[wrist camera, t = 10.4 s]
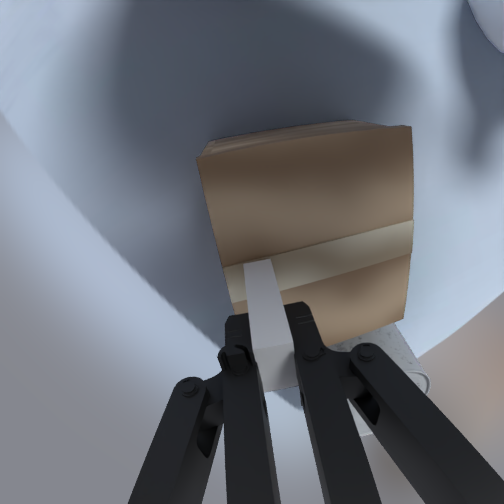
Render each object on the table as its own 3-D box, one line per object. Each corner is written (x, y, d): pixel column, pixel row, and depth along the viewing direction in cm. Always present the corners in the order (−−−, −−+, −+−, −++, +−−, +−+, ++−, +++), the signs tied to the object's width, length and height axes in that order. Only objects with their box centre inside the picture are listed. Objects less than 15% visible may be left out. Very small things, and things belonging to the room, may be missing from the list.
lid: (196, 157, 15) (196, 159, 14) (403, 125, 16) (412, 126, 15) (248, 360, 21) (250, 369, 21) (398, 313, 22) (403, 319, 22)
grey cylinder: (313, 361, 35) (338, 447, 24) (289, 306, 31) (317, 404, 20) (385, 332, 34) (428, 409, 23) (374, 271, 30) (433, 352, 19)
